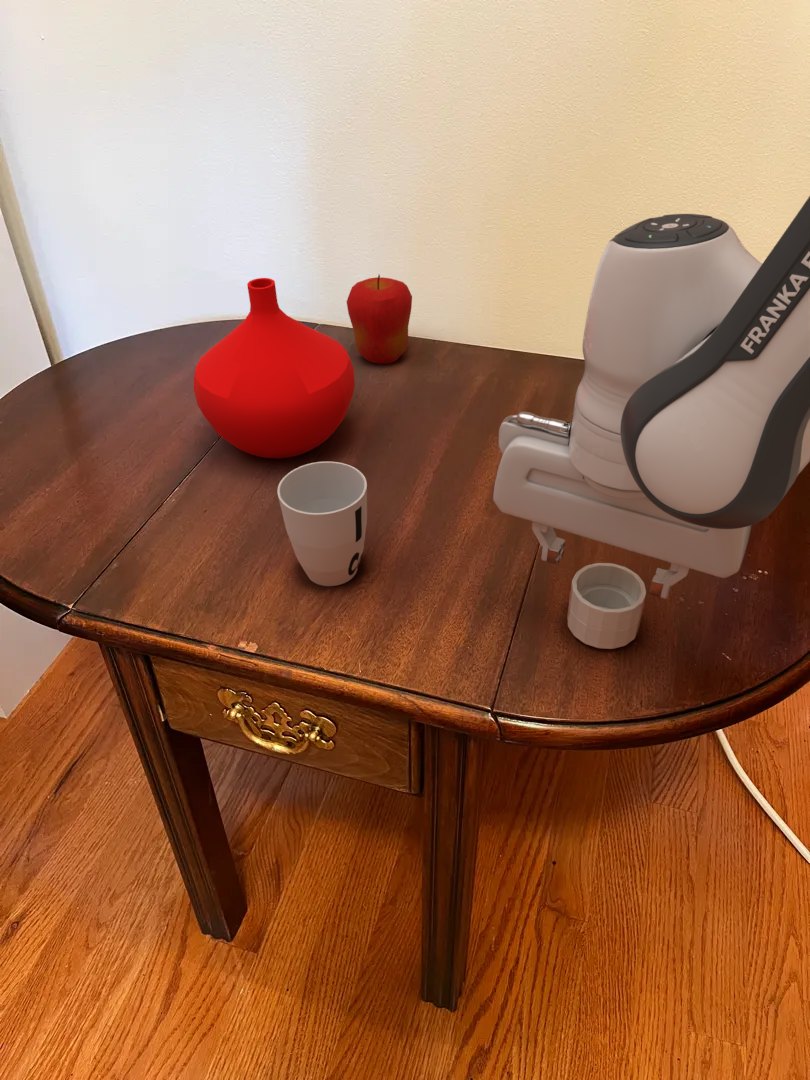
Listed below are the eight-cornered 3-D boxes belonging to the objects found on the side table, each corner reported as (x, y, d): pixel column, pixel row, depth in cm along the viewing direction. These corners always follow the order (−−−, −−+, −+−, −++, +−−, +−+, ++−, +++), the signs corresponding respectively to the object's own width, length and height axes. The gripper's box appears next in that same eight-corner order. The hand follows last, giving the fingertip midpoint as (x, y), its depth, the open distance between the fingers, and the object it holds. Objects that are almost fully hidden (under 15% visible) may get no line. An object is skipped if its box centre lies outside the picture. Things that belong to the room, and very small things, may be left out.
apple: (415, 342, 119) (413, 261, 111) (410, 371, 113) (408, 286, 105) (355, 341, 120) (349, 260, 112) (347, 370, 113) (340, 286, 106)
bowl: (645, 616, 76) (654, 575, 73) (625, 662, 72) (634, 621, 69) (579, 595, 78) (585, 555, 75) (556, 638, 74) (562, 597, 71)
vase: (360, 475, 94) (348, 315, 82) (197, 485, 94) (160, 326, 82) (356, 393, 108) (346, 247, 96) (214, 401, 108) (186, 255, 96)
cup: (370, 596, 79) (364, 513, 73) (285, 597, 79) (271, 514, 73) (374, 541, 85) (368, 460, 79) (295, 542, 86) (283, 461, 79)
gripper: (485, 425, 64) (477, 560, 73) (763, 498, 57) (717, 638, 66) (515, 388, 68) (505, 520, 77) (778, 450, 61) (733, 588, 70)
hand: (604, 575), depth 71 cm, fingers open, 8 cm apart
